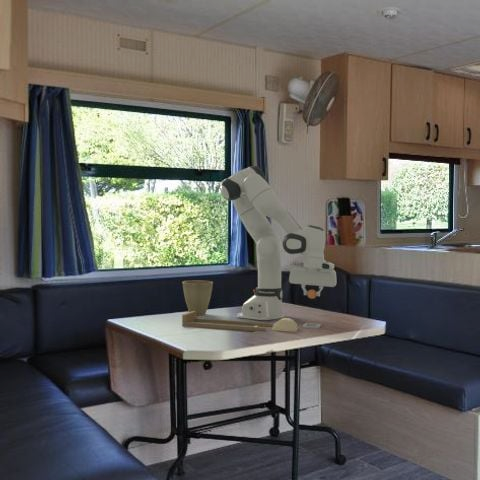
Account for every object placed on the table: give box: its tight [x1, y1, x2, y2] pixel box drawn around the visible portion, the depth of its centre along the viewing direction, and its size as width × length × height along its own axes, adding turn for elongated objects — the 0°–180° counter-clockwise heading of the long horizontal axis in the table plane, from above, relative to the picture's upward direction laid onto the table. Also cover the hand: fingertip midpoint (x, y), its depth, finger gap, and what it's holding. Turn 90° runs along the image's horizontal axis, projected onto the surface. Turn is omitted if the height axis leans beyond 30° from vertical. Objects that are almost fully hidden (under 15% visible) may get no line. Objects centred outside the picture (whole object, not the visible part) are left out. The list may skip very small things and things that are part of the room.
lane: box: [181, 311, 299, 333], centre depth 255 cm, size 50×11×10 cm, turn 70°
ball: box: [306, 289, 317, 300], centre depth 254 cm, size 4×4×4 cm
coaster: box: [301, 322, 322, 330], centre depth 254 cm, size 7×7×1 cm
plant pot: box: [181, 279, 214, 317], centre depth 288 cm, size 15×15×16 cm
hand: (311, 295), depth 254 cm, fingers closed on ball, 4 cm apart
